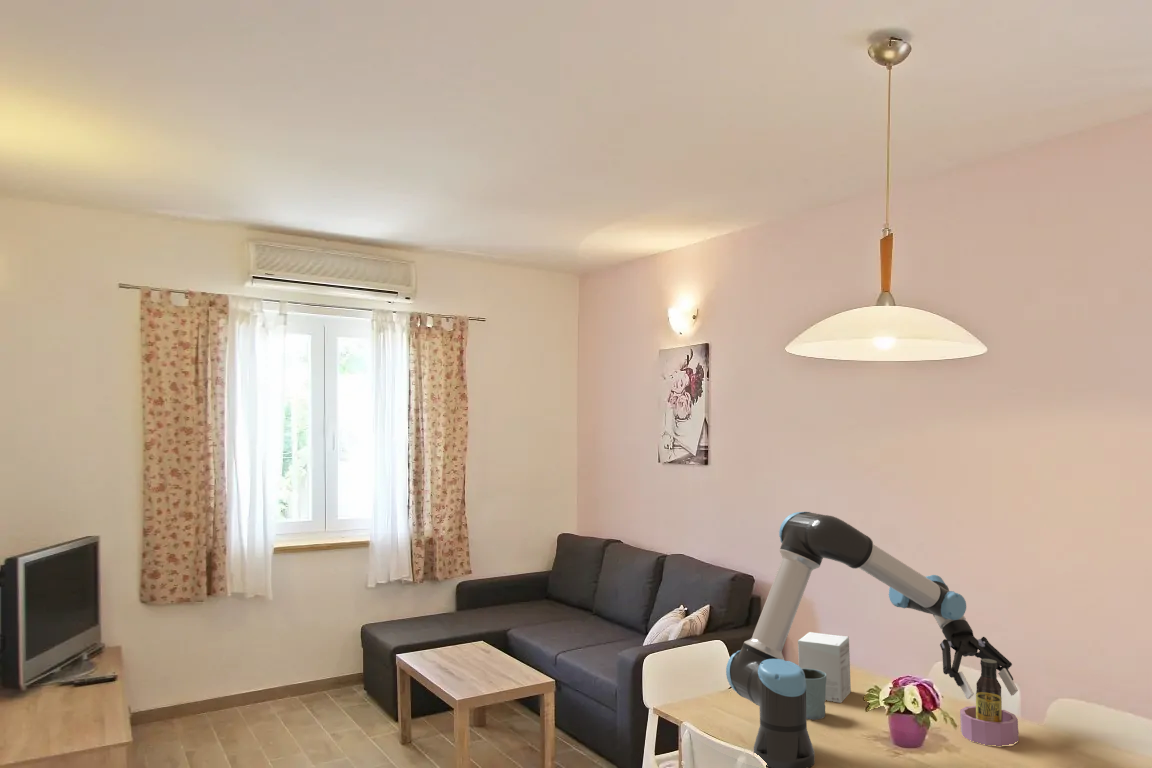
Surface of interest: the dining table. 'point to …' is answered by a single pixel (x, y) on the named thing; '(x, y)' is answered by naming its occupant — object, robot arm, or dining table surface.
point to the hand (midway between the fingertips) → (992, 694)
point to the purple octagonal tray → (989, 728)
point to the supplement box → (828, 661)
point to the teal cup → (815, 693)
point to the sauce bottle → (988, 693)
